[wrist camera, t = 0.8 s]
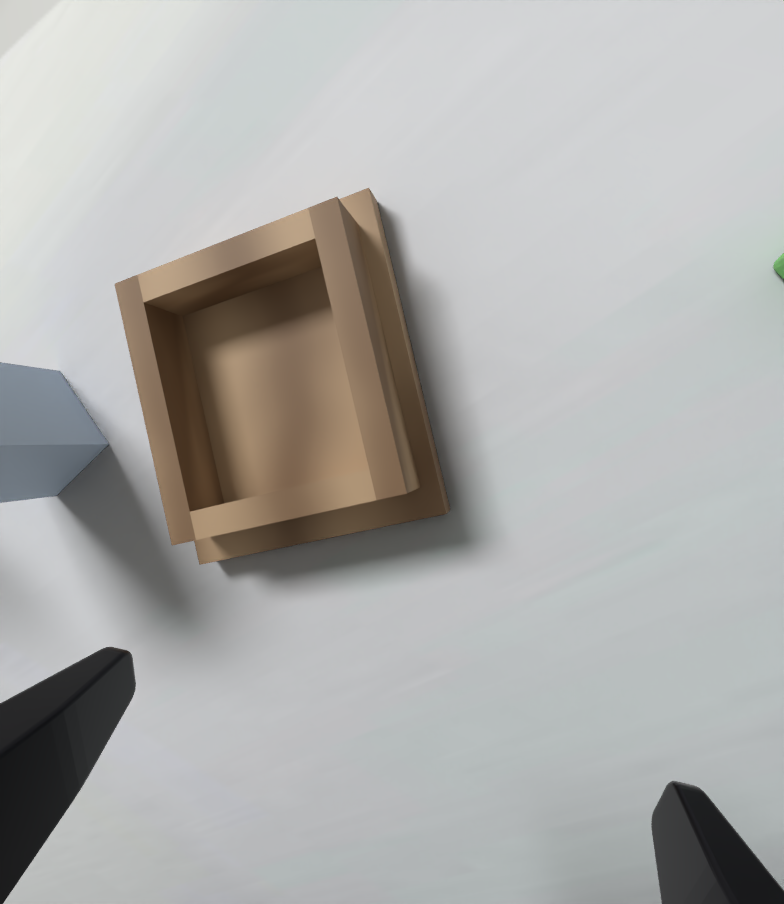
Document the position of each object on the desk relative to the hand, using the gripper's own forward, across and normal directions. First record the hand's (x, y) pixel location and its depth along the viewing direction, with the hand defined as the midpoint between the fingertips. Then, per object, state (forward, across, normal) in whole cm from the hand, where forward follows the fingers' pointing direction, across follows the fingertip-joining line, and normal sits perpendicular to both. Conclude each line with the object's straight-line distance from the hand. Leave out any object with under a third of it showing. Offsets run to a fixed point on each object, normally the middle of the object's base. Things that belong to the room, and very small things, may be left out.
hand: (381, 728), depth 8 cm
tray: (+16, +8, 0) cm, 18 cm away
